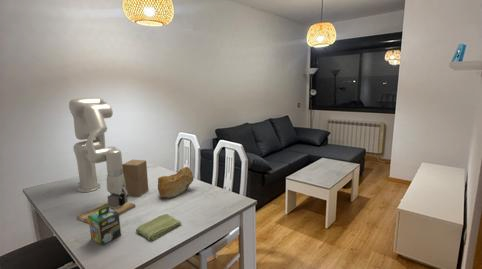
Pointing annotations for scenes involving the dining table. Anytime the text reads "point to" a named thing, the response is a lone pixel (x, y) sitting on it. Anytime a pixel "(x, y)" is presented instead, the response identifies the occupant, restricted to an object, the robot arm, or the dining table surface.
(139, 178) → the wooden block
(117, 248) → the dining table surface
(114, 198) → the block
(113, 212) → the chalk box
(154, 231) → the washcloth
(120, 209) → the board
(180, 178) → the rough brown rock
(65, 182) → the dining table surface
